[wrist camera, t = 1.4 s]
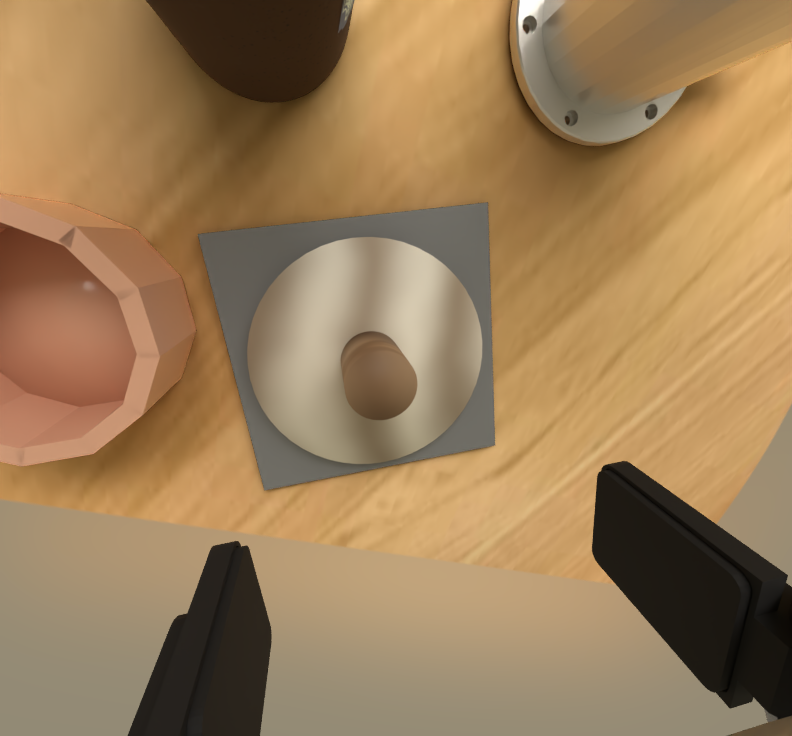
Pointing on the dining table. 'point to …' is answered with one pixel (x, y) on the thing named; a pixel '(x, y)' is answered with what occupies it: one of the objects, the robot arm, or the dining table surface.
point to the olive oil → (261, 42)
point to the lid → (364, 350)
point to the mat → (283, 244)
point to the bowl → (81, 329)
